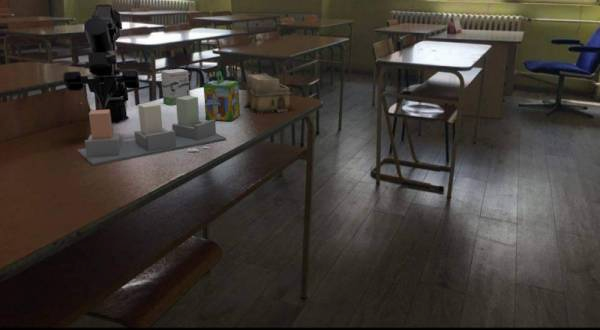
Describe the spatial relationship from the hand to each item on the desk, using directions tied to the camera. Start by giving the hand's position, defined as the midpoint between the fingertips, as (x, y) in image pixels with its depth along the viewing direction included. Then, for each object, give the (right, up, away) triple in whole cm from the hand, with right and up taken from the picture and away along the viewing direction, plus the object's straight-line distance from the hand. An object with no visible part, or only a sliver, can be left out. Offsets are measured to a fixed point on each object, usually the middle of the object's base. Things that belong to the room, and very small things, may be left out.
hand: (103, 106), depth 133 cm
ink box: (+7, +7, +50) cm, 51 cm away
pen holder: (+25, +6, +47) cm, 53 cm away
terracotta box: (+2, -12, -5) cm, 14 cm away
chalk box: (+27, 0, +31) cm, 41 cm away
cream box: (+12, -10, +2) cm, 16 cm away
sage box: (+20, -7, +11) cm, 24 cm away
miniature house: (+41, +4, +43) cm, 60 cm away
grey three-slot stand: (+12, -10, +2) cm, 16 cm away
